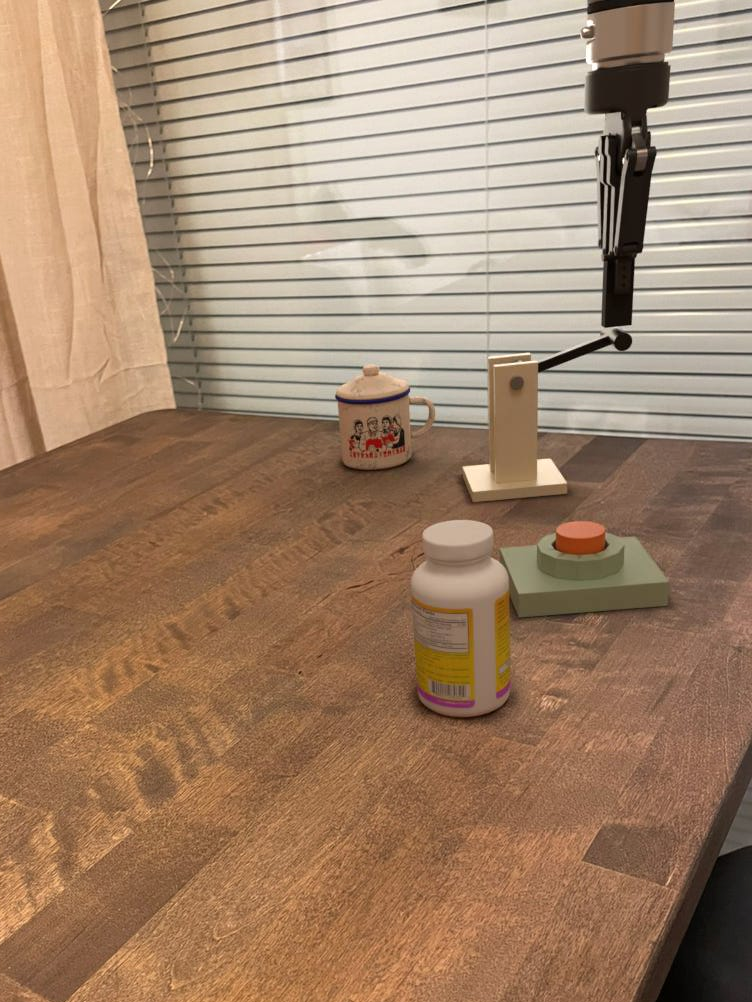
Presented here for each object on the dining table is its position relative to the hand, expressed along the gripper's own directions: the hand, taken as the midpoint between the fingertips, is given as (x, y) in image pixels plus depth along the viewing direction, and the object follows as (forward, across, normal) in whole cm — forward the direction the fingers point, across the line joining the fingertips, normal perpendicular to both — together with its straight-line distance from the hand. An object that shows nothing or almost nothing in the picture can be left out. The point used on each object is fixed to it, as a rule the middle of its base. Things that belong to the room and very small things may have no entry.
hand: (616, 325), depth 103 cm
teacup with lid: (+16, -14, -24) cm, 32 cm away
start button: (+13, +28, -10) cm, 32 cm away
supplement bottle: (+16, +45, -22) cm, 53 cm away
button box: (+16, +28, -10) cm, 34 cm away
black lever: (+4, 0, -5) cm, 7 cm away
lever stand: (+16, 0, -11) cm, 19 cm away
